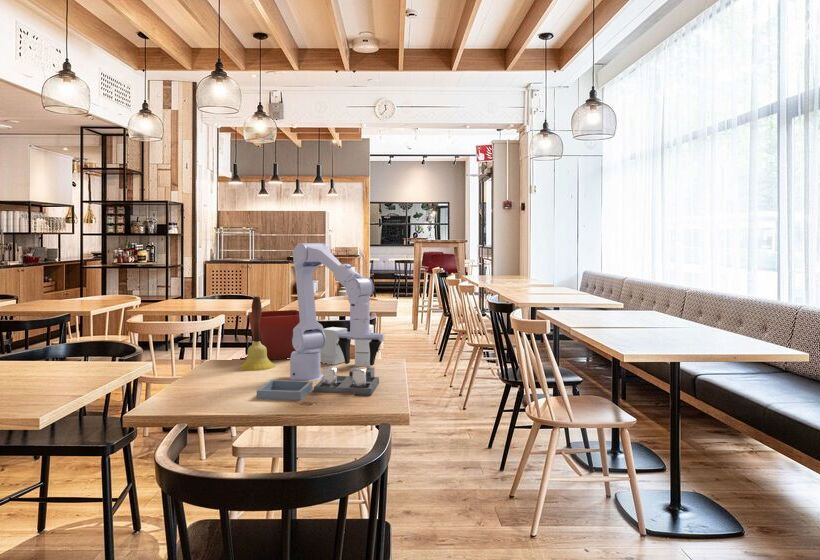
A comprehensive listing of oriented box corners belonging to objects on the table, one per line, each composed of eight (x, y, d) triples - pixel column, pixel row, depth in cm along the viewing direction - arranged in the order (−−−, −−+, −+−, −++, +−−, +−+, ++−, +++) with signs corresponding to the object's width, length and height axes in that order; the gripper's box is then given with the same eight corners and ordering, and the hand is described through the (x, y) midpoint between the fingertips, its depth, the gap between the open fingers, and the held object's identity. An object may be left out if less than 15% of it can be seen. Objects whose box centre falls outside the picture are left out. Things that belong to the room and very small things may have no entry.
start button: (356, 378, 196) (356, 369, 195) (358, 375, 199) (358, 366, 199) (366, 378, 195) (365, 369, 195) (367, 376, 198) (367, 367, 198)
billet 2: (357, 395, 177) (357, 371, 176) (349, 392, 180) (349, 369, 179) (368, 392, 179) (368, 369, 179) (361, 390, 182) (360, 367, 182)
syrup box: (370, 367, 215) (370, 326, 214) (354, 366, 216) (354, 326, 215) (374, 363, 220) (374, 324, 219) (358, 363, 222) (358, 323, 221)
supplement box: (335, 365, 217) (335, 330, 216) (319, 363, 221) (319, 328, 220) (347, 361, 224) (347, 328, 223) (332, 359, 228) (332, 326, 227)
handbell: (278, 363, 220) (277, 295, 219) (271, 370, 208) (270, 298, 206) (244, 363, 220) (243, 295, 218) (235, 370, 208) (234, 298, 206)
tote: (256, 401, 170) (256, 390, 169) (271, 389, 182) (271, 380, 182) (300, 402, 168) (300, 391, 168) (312, 391, 181) (312, 381, 181)
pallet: (314, 393, 178) (314, 386, 178) (326, 381, 193) (326, 375, 193) (371, 395, 176) (371, 388, 176) (379, 383, 191) (379, 377, 191)
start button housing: (349, 380, 194) (349, 371, 194) (353, 375, 201) (353, 367, 201) (370, 381, 193) (370, 372, 193) (374, 376, 200) (374, 367, 200)
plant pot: (248, 354, 238) (247, 311, 237) (296, 350, 245) (296, 309, 244) (256, 363, 220) (255, 317, 219) (307, 359, 228) (307, 315, 227)
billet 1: (322, 392, 179) (321, 369, 179) (325, 389, 183) (325, 366, 183) (335, 393, 179) (335, 369, 178) (338, 389, 183) (338, 366, 182)
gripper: (387, 317, 181) (386, 362, 182) (341, 315, 184) (341, 360, 185) (380, 320, 174) (380, 367, 175) (333, 318, 177) (333, 364, 178)
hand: (359, 364), depth 179 cm, fingers open, 7 cm apart
